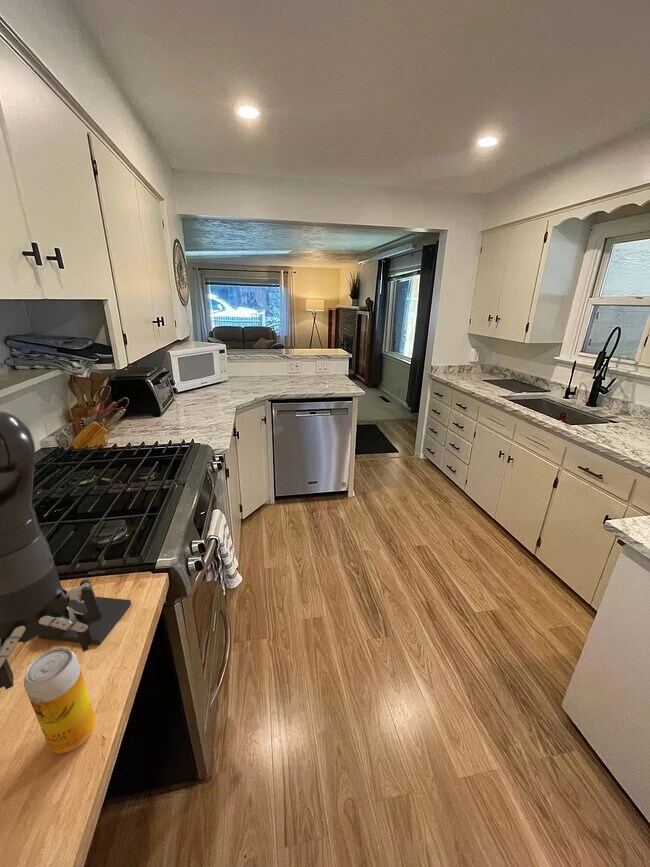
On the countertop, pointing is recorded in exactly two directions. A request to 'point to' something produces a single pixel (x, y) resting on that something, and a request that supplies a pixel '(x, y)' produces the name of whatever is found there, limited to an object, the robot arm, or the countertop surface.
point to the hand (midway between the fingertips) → (49, 664)
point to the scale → (99, 630)
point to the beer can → (60, 699)
